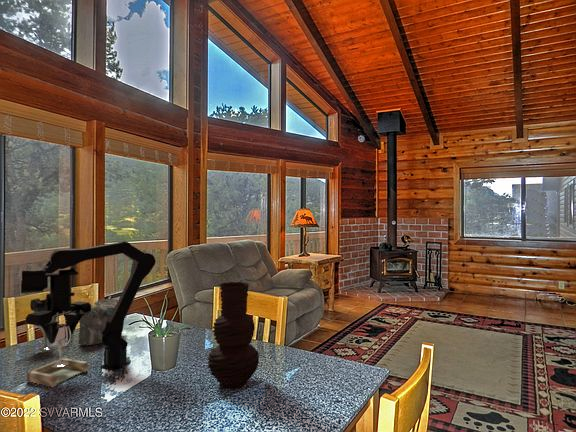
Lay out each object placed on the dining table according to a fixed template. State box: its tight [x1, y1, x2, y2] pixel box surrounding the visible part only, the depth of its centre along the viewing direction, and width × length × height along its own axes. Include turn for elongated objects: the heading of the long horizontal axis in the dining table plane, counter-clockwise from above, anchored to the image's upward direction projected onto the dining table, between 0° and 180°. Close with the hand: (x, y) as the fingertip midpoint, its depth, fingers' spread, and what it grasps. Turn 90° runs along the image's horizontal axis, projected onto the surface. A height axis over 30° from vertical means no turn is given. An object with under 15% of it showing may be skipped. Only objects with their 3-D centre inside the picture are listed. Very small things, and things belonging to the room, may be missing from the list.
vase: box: [207, 281, 260, 391], centre depth 116 cm, size 15×15×30 cm
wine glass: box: [32, 310, 59, 351], centre depth 144 cm, size 8×8×15 cm
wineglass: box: [50, 323, 72, 367], centre depth 120 cm, size 6×6×12 cm
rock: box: [77, 298, 119, 346], centre depth 157 cm, size 21×16×10 cm
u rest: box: [26, 357, 89, 388], centre depth 120 cm, size 10×12×3 cm
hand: (60, 340), depth 120 cm, fingers closed on wineglass, 6 cm apart
